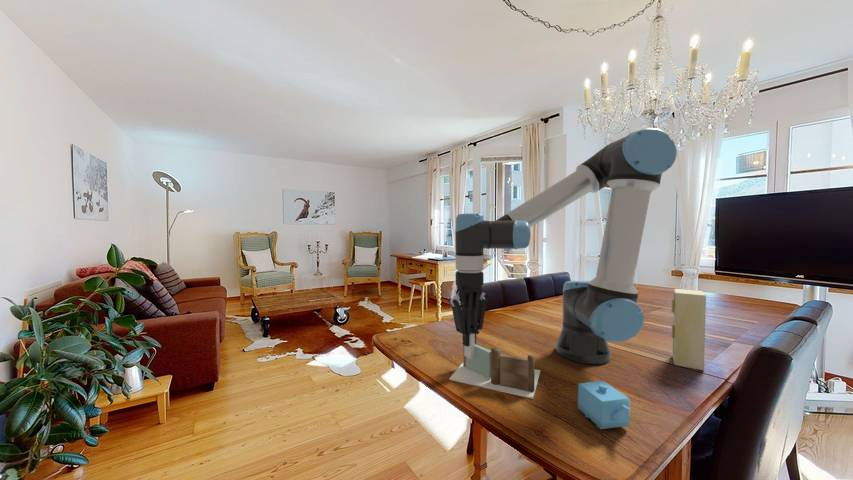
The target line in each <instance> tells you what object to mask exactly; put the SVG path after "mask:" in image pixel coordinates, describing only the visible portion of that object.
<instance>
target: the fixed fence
mask: <svg viewBox="0 0 853 480" xmlns="http://www.w3.org/2000/svg"><path fill="white" fill-rule="evenodd" d="M490 351H491V383H492V384H494V385H498V384H501V385H505V386H510V387H515V388H519V389H524V390H528V391H531V392H534V382H535V367H536V366H535V365H536V364H535V363H536V361H535V360H536V356H535V355H533V354H528V355H527V358H525V357H521V356H515V355H508V354H502V351H501V348H499V347H492V348H491V349H490Z"/></svg>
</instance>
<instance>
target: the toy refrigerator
mask: <svg viewBox="0 0 853 480" xmlns="http://www.w3.org/2000/svg"><path fill="white" fill-rule="evenodd" d="M706 304H707V295H706V294H705V293H704V291H702V290H696V289H695V290H694V289H684V288H674V289H673V298H672V299H671V313H673V314H672V315H673V317H672V318H673V319H672V320H673V321H672V323H673V324H672V325H671V339H672V360H673V361H672V362H673V364H674V366H678V367H683V368H687V369H693V370H700V371H705V352H706V351H705V345H706V316H707V315H706V308H707V305H706Z"/></svg>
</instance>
